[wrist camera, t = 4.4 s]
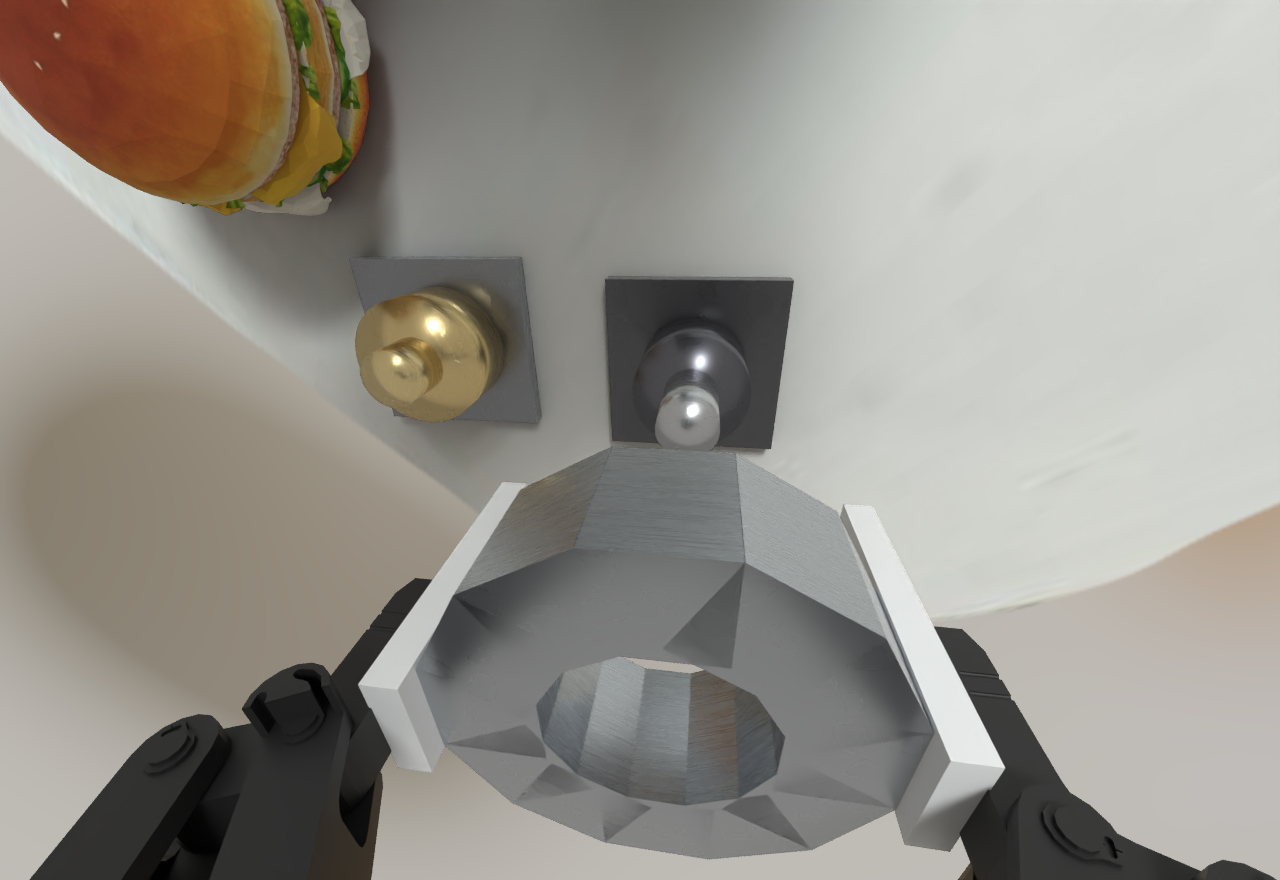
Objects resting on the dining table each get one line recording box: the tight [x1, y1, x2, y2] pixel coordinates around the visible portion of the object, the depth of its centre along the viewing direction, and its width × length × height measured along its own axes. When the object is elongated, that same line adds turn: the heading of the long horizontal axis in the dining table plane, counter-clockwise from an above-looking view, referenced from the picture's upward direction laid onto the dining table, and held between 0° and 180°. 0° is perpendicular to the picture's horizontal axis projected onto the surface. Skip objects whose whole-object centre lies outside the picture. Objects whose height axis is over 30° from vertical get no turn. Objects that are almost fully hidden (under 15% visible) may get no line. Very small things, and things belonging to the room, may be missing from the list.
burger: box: [0, 0, 371, 216], centre depth 19 cm, size 13×14×10 cm
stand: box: [605, 276, 794, 452], centre depth 24 cm, size 10×10×9 cm
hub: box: [349, 257, 541, 423], centre depth 26 cm, size 10×10×7 cm
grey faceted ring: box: [415, 446, 934, 859], centre depth 10 cm, size 9×9×3 cm
